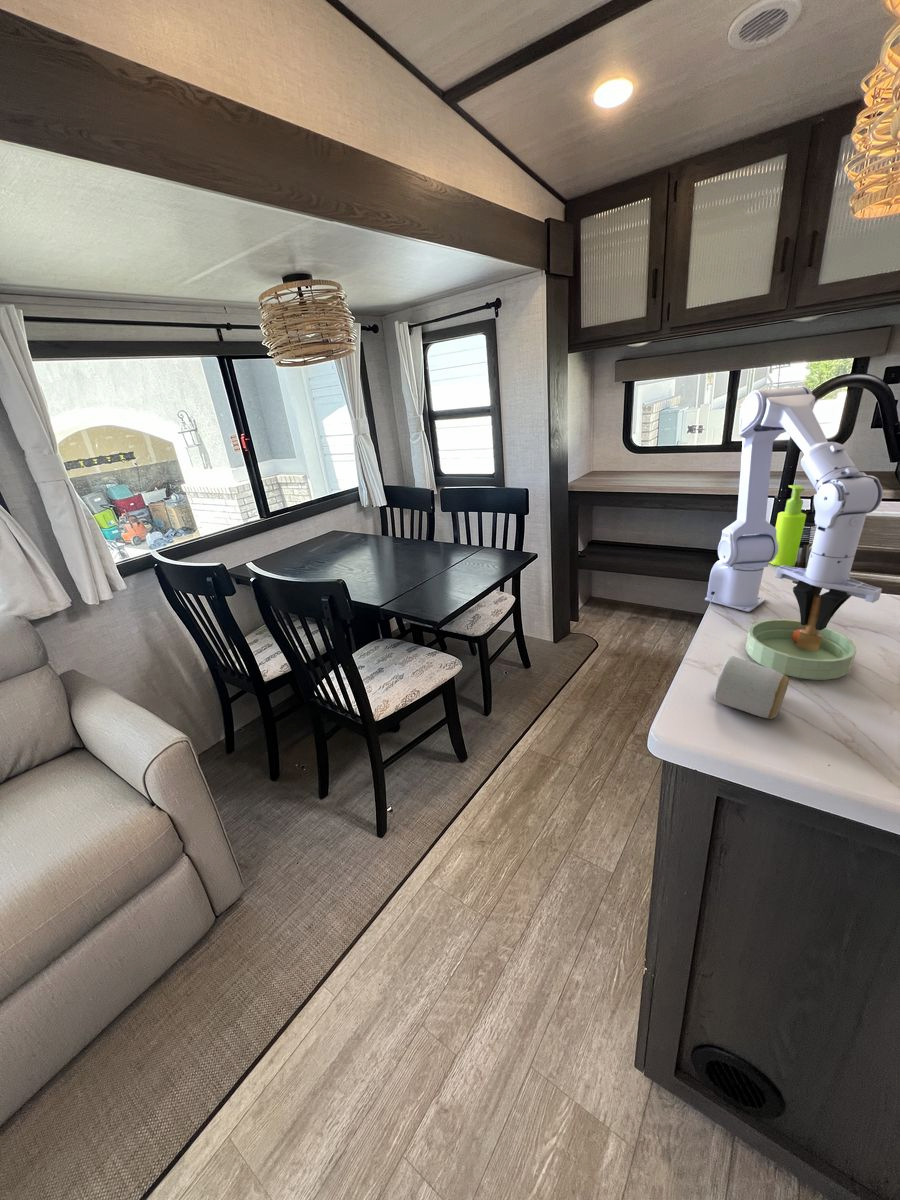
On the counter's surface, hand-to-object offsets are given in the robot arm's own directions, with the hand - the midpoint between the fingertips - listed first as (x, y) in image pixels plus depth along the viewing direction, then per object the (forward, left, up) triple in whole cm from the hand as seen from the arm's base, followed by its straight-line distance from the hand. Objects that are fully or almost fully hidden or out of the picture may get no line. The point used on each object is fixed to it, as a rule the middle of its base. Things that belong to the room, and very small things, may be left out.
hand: (813, 625), depth 82 cm
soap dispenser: (-21, +46, -6) cm, 51 cm away
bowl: (-1, -3, -6) cm, 6 cm away
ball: (-2, +2, -4) cm, 4 cm away
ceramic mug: (-1, -22, -6) cm, 23 cm away
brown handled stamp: (0, 0, -4) cm, 4 cm away
